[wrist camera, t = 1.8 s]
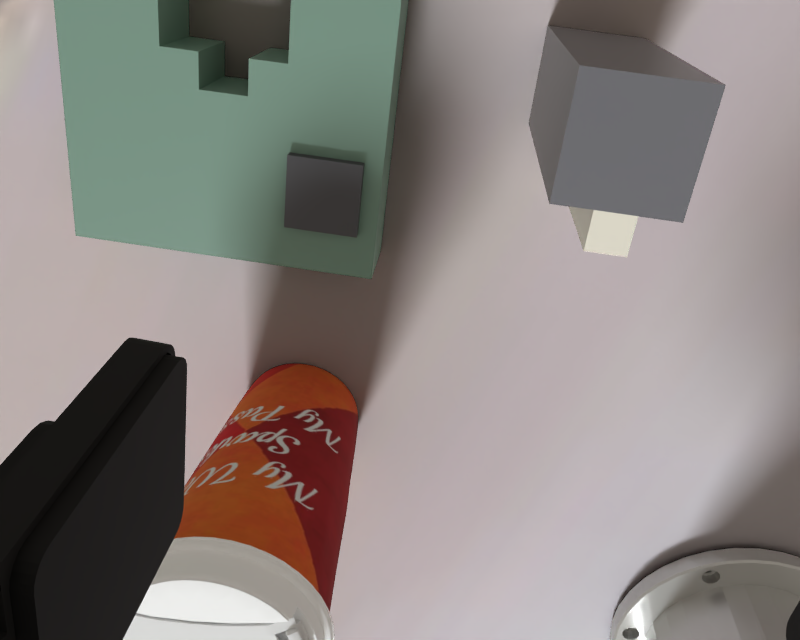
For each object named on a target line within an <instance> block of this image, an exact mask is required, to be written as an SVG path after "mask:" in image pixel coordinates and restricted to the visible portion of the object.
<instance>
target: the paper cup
mask: <svg viewBox="0 0 800 640" xmlns="http://www.w3.org/2000/svg"><path fill="white" fill-rule="evenodd" d="M357 428H358V411H357V406H356V402H355V400H354V398H353V396H352V394H351V392H350V391H349V389H348V388H347V387H346V386H345V384H344V383H343V382H342V381H341V380H339V379H338V378H337V377H336V376H334V375H333V374H331V373H329V372H328V371H326V370H324V369H321V368H319V367H316V366H312V365H307V364H298V363H293V364H284V365H280V366H277V367H274V368H272V369H270V370H268V371H266V372H265V373H263V374H262V375H261V376H260V377H259V378H258V379H257V380H256V381H255V382H254V383H253V384H252V386H251V387H250V388H249V390H248V391H247V392H246V394H245V395H244V397H243V398H242V400H241V401H240V403H239V404H238V405H237V407H236V409H235V410H234V412H233V413H232V415H231V416H230V418H229V419H228V421H227V422H226V424H225V425H224V427H223V428H222V430H221V431H220V433H219V434H218V436H217V437H216V439H215V440H214V442H213V444H212V445H211V447H210V448H209V450H208V451H207V453H206V454H205V456H204V457H203V459H202V460H201V462H200V463H199V465H198V467H197V468H196V470H195V471H194V473H193V474H192V476H191V477H190V479H189V481H188V482H187V484H186V485H185V487H184V508H183V514H182V519H181V523H180V526H179V529H178V531H177V533H176V536H175V537H174V539H173V541H172V543H171V545H170V547H169V549H168V551H167V553H166V555H165V557H164V559H163V561H162V563H161V565H160V567H159V569H158V571H157V573H156V575H155V577H154V579H153V581H152V583H151V585H150V587H149V589H148V591H147V593H146V595H145V597H144V599H143V601H142V603H141V605H140V607H139V609H138V611H137V613H136V615H135V617H134V619H133V621H132V623H131V625H130V626H129V628H128V630H127V632H126V634H125V636H124V638H123V640H334V636H335V635H334V627H333V621H332V618H331V615H330V606H331V600H332V594H333V587H334V581H335V575H336V568H337V563H338V557H339V551H340V545H341V540H342V534H343V528H344V522H345V516H346V511H347V503H348V495H349V486H350V479H351V472H352V466H353V459H354V452H355V445H356V437H357Z"/></svg>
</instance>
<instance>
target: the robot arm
mask: <svg viewBox="0 0 800 640" xmlns="http://www.w3.org/2000/svg"><path fill="white" fill-rule="evenodd" d="M186 386H187V363H186V360H185V359H184V358H182V357H176V356H175V351H174V347H173V346H172V345H170V344H164V343H159V342H154V341H148V340H143V339H137V338H128V339H127V340H126V341H125V342H124V343H123V344H122V345H121V346H120V347H119V349H118V350H117V351H116V352H115V353H114V354H113V355H112V357H111V358H110V359H109V360H108V361H107V362H106V363H105V365H104V366H103V367H102V368H101V369H100V370H99V372H98V373H97V374H96V375H95V376H94V377H93V378H92V380H91V381H90V382H89V383H88V384H87V385H86V386H85V388H84V389H83V390H82V391H81V392H80V393H79V394H78V396H77V397H76V398H75V399H74V400H73V401H72V402H71V404H70V405H69V406H68V407H67V408H66V409H65V411H64V412H63V413H62V414H61V415H60V416H59V417H58V419H57V420H56V421H55V422H53V421H45V422H42V423H40V424H38V425H37V426H36V427H35V428H34V429H33V430H32V431H31V432H30V433H29V434H28V435H27V436H26V437H25V438H24V439H23V441H22V442H21V443H20V444H19V445H18V446H17V447H16V448H15V449H14V450H13V452H12V453H11V454H10V455H9V456H8V457H7V458H6V459H5V460H4V462H3V463H2V464H1V465H0V640H123V638H124V636H125V634H126V632H127V630H128V628H129V626H130V625H131V623H132V621H133V619H134V617H135V615H136V613H137V611H138V609H139V607H140V605H141V603H142V601H143V599H144V597H145V595H146V593H147V591H148V589H149V587H150V585H151V583H152V581H153V579H154V577H155V575H156V573H157V571H158V569H159V567H160V565H161V563H162V561H163V559H164V557H165V555H166V553H167V551H168V549H169V547H170V545H171V543H172V541H173V539H174V537H175V536H176V533H177V531H178V529H179V526H180V523H181V519H182V514H183V508H184V473H185V429H186ZM610 640H800V557H796V556H793V555H790V554H787V553H784V552H779V551H772V550H766V549H759V548H729V549H721V550H713V551H707V552H703V553H699V554H695V555H691V556H688V557H684V558H682V559H679V560H677V561H675V562H672V563H670V564H668V565H665V566H663V567H661V568H660V569H658V570H656V571H655V572H653V573H652V574H650V575H648V576H647V577H645V578H644V579H643V580H641V581H640V582H639V583H638V584H637V585H636V586H635V587H634V588H633V589H631V590H630V591H629V592H628V594H627V595H626V596H625V598H624V599H623V601H622V602H621V603H620V605H619V606H618V608H617V610H616V613H615V615H614V617H613V620H612V624H611V630H610Z"/></svg>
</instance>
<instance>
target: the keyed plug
mask: <svg viewBox="0 0 800 640" xmlns="http://www.w3.org/2000/svg"><path fill="white" fill-rule="evenodd" d="M724 89H725V84H723V83H721V82H720V81H718V80H716V79H714V78H713V77H711V76H709V75H708V74H706V73H704V72H702V71H701V70H699V69H697V68H696V67H694V66H692V65H690V64H689V63H687V62H685V61H684V60H682V59H680V58H678V57H677V56H675V55H673V54H672V53H670V52H668V51H666V50H665V49H663V48H661V47H660V46H658V45H656V44H654V43H653V42H651V41H649V40H648V39H646V38H639V37H631V36H624V35H616V34H609V33H601V32H594V31H586V30H579V29H572V28H564V27H557V26H549V25H548V27H547V32H546V37H545V43H544V48H543V53H542V58H541V63H540V68H539V73H538V79H537V84H536V89H535V94H534V99H533V104H532V109H531V114H530V120H529V126H530V130H531V134H532V138H533V142H534V146H535V150H536V153H537V157H538V161H539V165H540V169H541V173H542V176H543V180H544V184H545V188H546V192H547V196H548V200H549V203H550V204H556V205H563V206H569V208H570V211H571V214H572V217H573V220H574V223H575V226H576V229H577V232H578V235H579V238H580V241H581V245H582V248H583V251H587V252H594V253H601V254H608V255H615V256H622V257H627V255H628V252H629V248H630V244H631V241H632V237H633V234H634V230H635V226H636V223H637V219H638V216H640V217H647V218H654V219H661V220H668V221H675V222H682V223H683V221H684V218H685V215H686V211H687V208H688V205H689V202H690V198H691V195H692V192H693V189H694V186H695V182H696V179H697V176H698V173H699V169H700V166H701V163H702V160H703V156H704V153H705V150H706V147H707V144H708V140H709V137H710V134H711V131H712V127H713V124H714V121H715V118H716V115H717V111H718V108H719V105H720V102H721V98H722V95H723V92H724Z"/></svg>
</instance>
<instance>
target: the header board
mask: <svg viewBox="0 0 800 640" xmlns="http://www.w3.org/2000/svg"><path fill="white" fill-rule="evenodd" d="M408 2H409V0H291V10H290V33H289V50H284V49H277V48H269V49H267V50H265V51H263V52H261V53H259V54H257V55H255V56H253V57H251V58H249V73H248V79H242V78H235V77H227V76H225V41H218V40H211V39H204V38H196V37H189V0H54V8H55V19H56V30H57V40H58V51H59V62H60V72H61V83H62V94H63V104H64V115H65V126H66V136H67V147H68V158H69V168H70V179H71V190H72V200H73V211H74V221H75V232H76V236H82V237H89V238H95V239H102V240H109V241H116V242H123V243H129V244H136V245H143V246H150V247H156V248H163V249H170V250H177V251H184V252H190V253H197V254H204V255H211V256H218V257H224V258H231V259H238V260H245V261H252V262H258V263H265V264H272V265H279V266H286V267H292V268H299V269H306V270H313V271H320V272H326V273H333V274H340V275H347V276H354V277H360V278H367V279H372V276H373V273H374V270H375V267H376V264H377V261H378V258H379V255H380V252H381V244H382V235H383V226H384V217H385V208H386V199H387V190H388V181H389V172H390V163H391V154H392V145H393V136H394V127H395V118H396V109H397V100H398V91H399V82H400V73H401V64H402V55H403V46H404V37H405V28H406V19H407V10H408Z"/></svg>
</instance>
